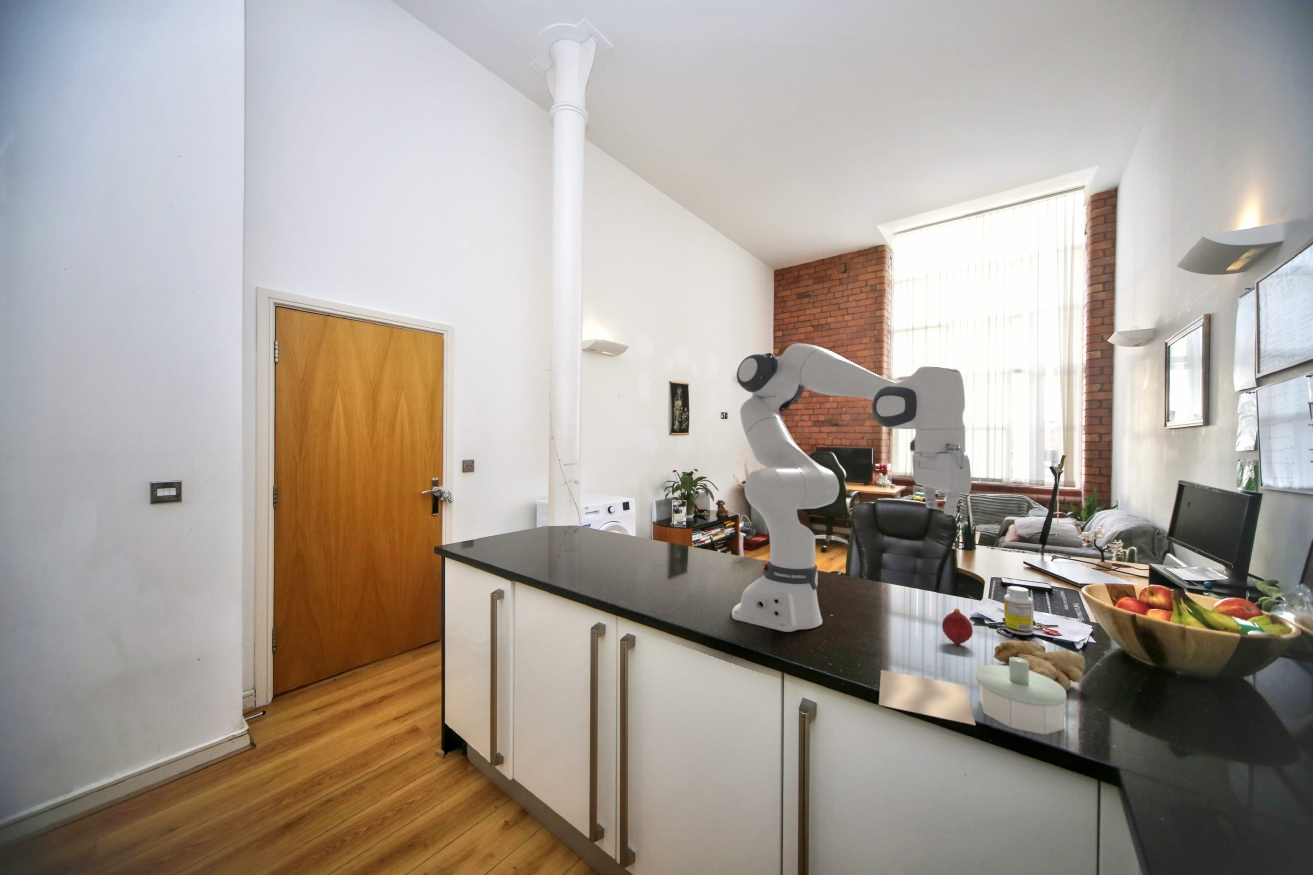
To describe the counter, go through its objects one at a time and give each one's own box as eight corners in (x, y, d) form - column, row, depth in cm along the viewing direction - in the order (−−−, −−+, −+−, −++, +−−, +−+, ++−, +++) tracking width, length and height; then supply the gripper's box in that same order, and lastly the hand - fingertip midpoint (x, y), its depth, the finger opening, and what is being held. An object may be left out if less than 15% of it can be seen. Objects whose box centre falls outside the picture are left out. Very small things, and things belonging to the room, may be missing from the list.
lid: (991, 699, 77) (991, 672, 77) (965, 665, 89) (965, 642, 89) (1083, 710, 74) (1082, 682, 74) (1043, 674, 85) (1043, 649, 85)
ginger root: (1040, 652, 103) (1045, 618, 101) (1106, 711, 87) (1114, 673, 85) (964, 654, 103) (968, 620, 101) (1016, 713, 88) (1021, 675, 86)
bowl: (986, 725, 79) (986, 694, 79) (976, 694, 88) (976, 666, 88) (1070, 743, 74) (1070, 710, 74) (1050, 708, 84) (1050, 679, 84)
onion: (977, 650, 106) (977, 613, 106) (948, 648, 108) (948, 612, 108) (966, 640, 112) (965, 605, 112) (938, 638, 113) (938, 603, 113)
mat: (878, 707, 84) (878, 704, 84) (881, 672, 97) (881, 669, 97) (975, 728, 78) (975, 724, 78) (964, 688, 90) (964, 685, 90)
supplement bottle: (1012, 625, 121) (1012, 583, 121) (1038, 633, 116) (1038, 589, 116) (999, 629, 119) (999, 586, 119) (1024, 637, 114) (1024, 593, 114)
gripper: (981, 444, 90) (981, 519, 90) (937, 443, 110) (937, 505, 110) (943, 444, 91) (944, 518, 91) (907, 443, 111) (907, 504, 111)
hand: (940, 511), depth 101 cm, fingers open, 8 cm apart
